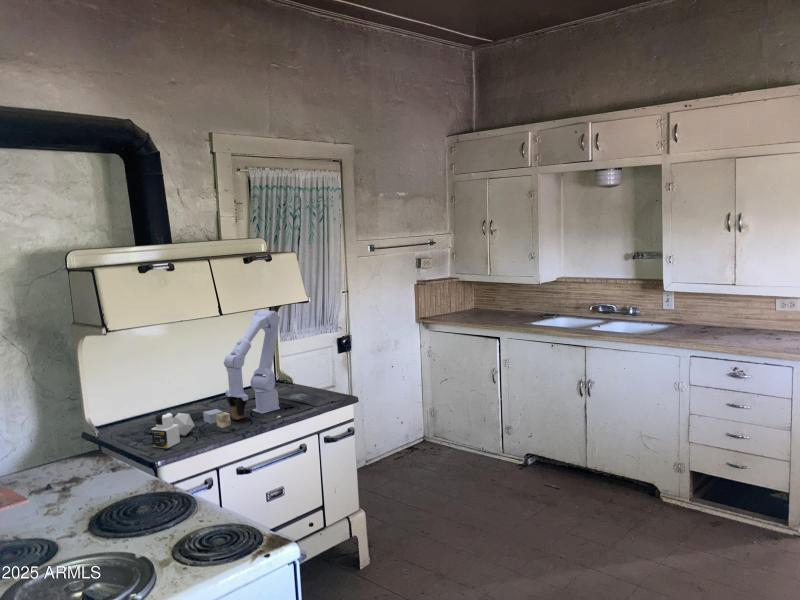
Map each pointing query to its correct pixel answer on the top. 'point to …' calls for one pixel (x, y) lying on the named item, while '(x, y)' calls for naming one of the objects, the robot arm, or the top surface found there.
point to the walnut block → (236, 413)
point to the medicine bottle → (165, 431)
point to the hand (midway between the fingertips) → (238, 414)
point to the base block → (211, 415)
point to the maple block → (223, 420)
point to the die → (183, 423)
